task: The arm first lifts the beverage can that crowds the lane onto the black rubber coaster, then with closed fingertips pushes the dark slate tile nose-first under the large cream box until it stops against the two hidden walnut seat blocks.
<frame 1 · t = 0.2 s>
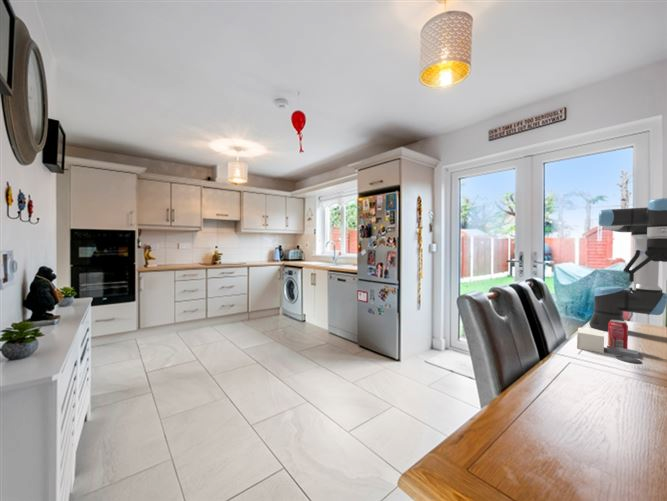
hand: (659, 291, 114), 27 cm above the table, fingers open, 13 cm apart
beverage can: (617, 348, 128), on the table
large cream box: (590, 347, 128), on the table
coaster: (628, 359, 114), on the table
slate tile: (621, 354, 121), on the table
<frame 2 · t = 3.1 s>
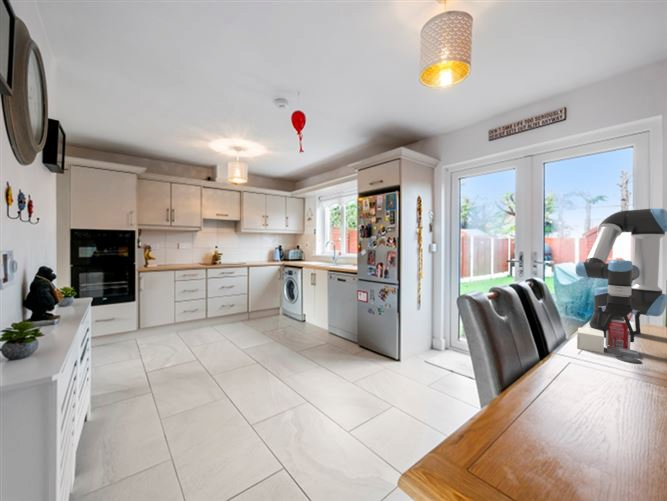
hand: (617, 347, 128), 0 cm above the table, fingers closed on beverage can, 6 cm apart
beverage can: (617, 348, 128), on the table, touching gripper
everything else where it was.
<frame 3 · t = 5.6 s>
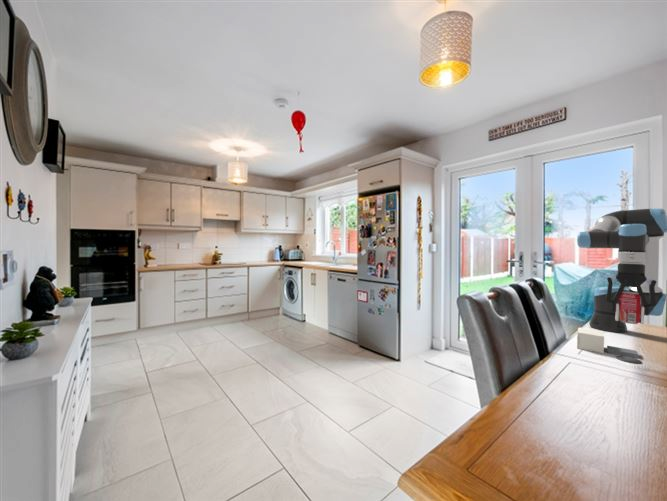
hand: (629, 321, 114), 15 cm above the table, fingers closed on beverage can, 6 cm apart
beverage can: (629, 323, 114), point 15 cm above the table, touching gripper
everything else where it was.
when the fingers open (2 cm above the table, at t = 7.9 s): beverage can drops 1 cm, resting on coaster.
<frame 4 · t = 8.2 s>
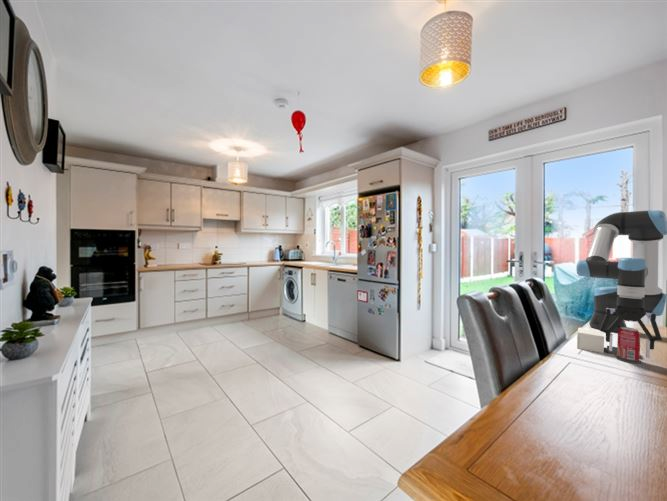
hand: (628, 353, 114), 3 cm above the table, fingers open, 9 cm apart
beverage can: (628, 359, 114), resting on coaster
everything else where it was.
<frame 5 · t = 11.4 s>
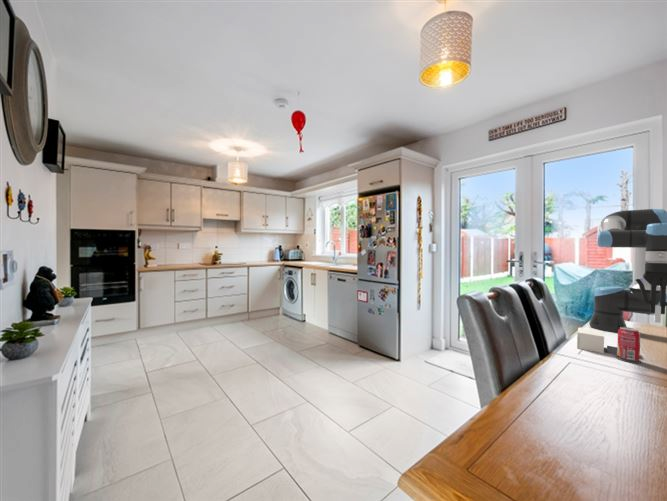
hand: (657, 321, 114), 15 cm above the table, fingers closed
nothing on the table moved.
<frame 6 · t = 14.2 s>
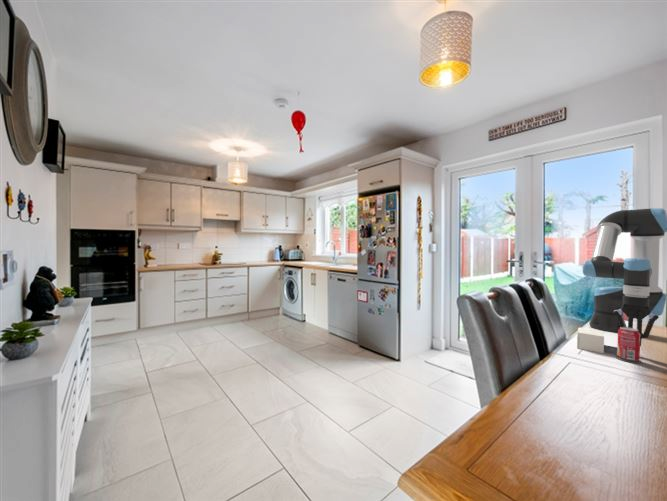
hand: (634, 352, 119), 1 cm above the table, fingers closed
slate tile: (616, 353, 122), on the table
everything else where it was.
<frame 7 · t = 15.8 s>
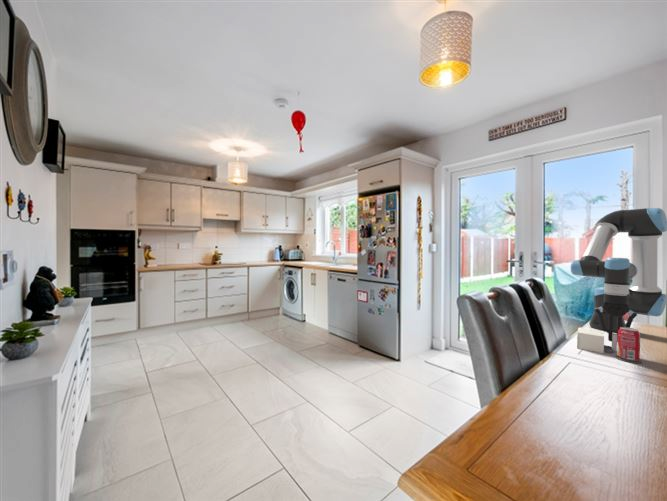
hand: (614, 349, 123), 1 cm above the table, fingers closed
slate tile: (597, 350, 126), on the table
everything else where it was.
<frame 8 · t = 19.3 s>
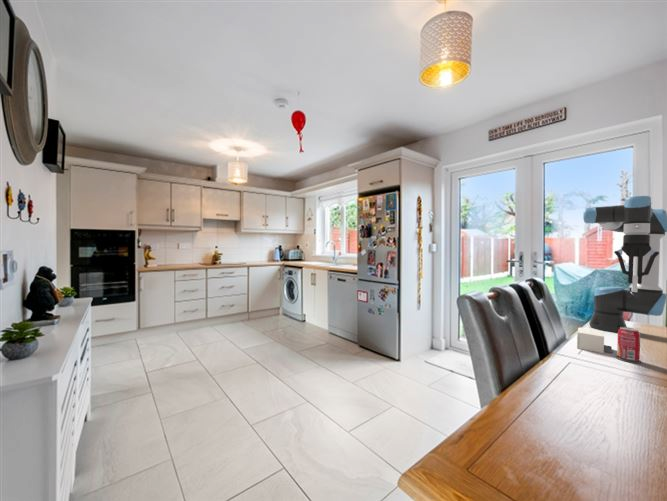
hand: (634, 291, 119), 26 cm above the table, fingers closed
nothing on the table moved.
at the end: slate tile 0.2 cm from the target spot on the large cream box, point -0.5 cm above the large cream box's base; beverage can 0.1 cm from the coaster (horizontally); beverage can tilted 0° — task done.
